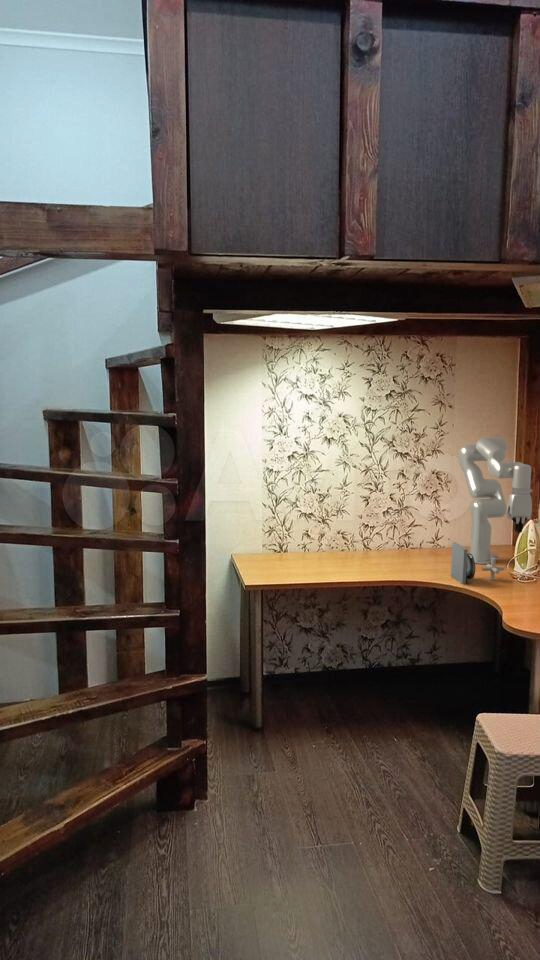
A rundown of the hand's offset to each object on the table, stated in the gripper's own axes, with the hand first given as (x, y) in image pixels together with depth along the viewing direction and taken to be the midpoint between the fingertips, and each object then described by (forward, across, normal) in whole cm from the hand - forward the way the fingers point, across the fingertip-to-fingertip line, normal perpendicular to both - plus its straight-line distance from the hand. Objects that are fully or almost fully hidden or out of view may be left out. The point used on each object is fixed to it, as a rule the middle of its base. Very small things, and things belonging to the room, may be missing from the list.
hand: (518, 531), depth 297 cm
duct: (+21, +24, 0) cm, 32 cm away
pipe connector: (+22, +11, 0) cm, 25 cm away
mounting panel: (+22, +25, 0) cm, 33 cm away
